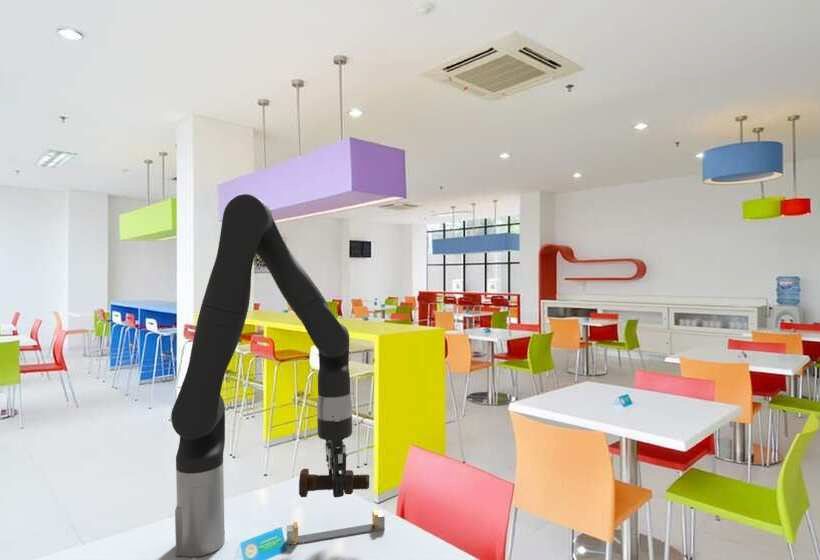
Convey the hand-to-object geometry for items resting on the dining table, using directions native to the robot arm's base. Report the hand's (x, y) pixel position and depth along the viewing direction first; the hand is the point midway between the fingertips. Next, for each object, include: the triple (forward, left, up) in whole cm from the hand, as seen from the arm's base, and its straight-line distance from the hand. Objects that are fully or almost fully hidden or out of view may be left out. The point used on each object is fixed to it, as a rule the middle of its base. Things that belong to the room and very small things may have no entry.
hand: (336, 490), depth 111 cm
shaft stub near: (-10, 0, -10) cm, 14 cm away
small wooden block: (+9, 0, -10) cm, 14 cm away
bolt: (0, 0, -1) cm, 1 cm away
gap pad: (0, 0, -10) cm, 10 cm away
